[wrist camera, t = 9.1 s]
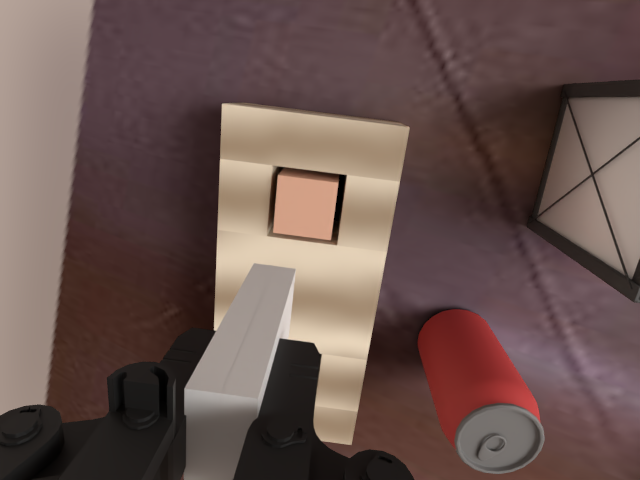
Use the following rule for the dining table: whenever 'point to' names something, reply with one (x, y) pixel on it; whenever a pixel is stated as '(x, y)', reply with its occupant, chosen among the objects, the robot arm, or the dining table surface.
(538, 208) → the lantern
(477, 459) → the beer can
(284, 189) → the terracotta peg
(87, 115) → the dining table surface
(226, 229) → the birch block
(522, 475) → the dining table surface
